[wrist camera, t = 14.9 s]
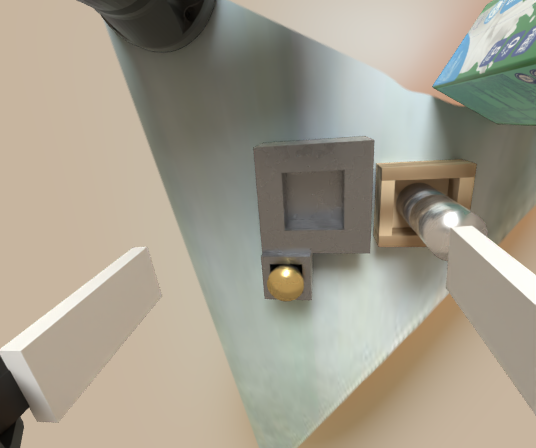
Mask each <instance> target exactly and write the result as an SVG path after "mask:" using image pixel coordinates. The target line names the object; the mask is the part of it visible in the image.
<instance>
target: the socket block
mask: <svg viewBox="0 0 536 448" xmlns="http://www.w3.org/2000/svg"><path fill="white" fill-rule="evenodd" d="M253 150H254V162H255V173H256V185H257V196H258V208H259V219H260V231H261V242H262V255H261V262H262V274H263V285H264V296H265V299H276V298H275V297H273V296H272V295H271V293H270V292H269V290H268V287H267V280H268V277H269V274H270V273H271V271H272V270H273V269H275V268H277V266H278V264H301V266H300V273H301V275H302V276H303V279H304V288H303V292H302V294H301V295H300V296H299V297H298V298H297V299H295V300H312V281H313V253H370V241H371V214H372V188H373V161H374V140H373V139H371V138H369V137H366V136H358V137H342V138H327V139H312V140H296V141H281V142H266V143H262V144H260V145H258V146H255V147H253Z"/></svg>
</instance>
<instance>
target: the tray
mask: <svg viewBox="0 0 536 448" xmlns="http://www.w3.org/2000/svg"><path fill="white" fill-rule="evenodd" d="M476 166H477V164H476V163H473V162H469V161H466V160H463V159H454V160H434V161H414V162H394V163H376V185H375V210H374V235H373V236H374V238H375V240H376V242H377V245H378V247H427V246H426V244H425V243H424V242H423V241H422V240H421V238H420V237H419V236H418V235H417V234H416V232H415V231H414V230H413V229H412V228H411V227H410V225H409V224H408V223H407V222H406V221H405V219H404V218H403V217H402V216H401V215H400V214H399V212H398V210H397V207H396V200H397V197H398V195H399V193H400V192H401V191H402V190H403V189H404V188H405V187H406V186H408V185H410V184H413V183H425V184H428V185H430V186H431V187H433V188H435V189H436V190H438V191H439V192H441V193H443V194H444V195H446V196H447V197H449V198H451V199H452V200H454V201H456V202H457V203H459V204H460V205H462V206H464V207H465V208H467V209H468V210H470V208H471V201H472V194H473V187H474V180H475V173H476Z"/></svg>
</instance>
